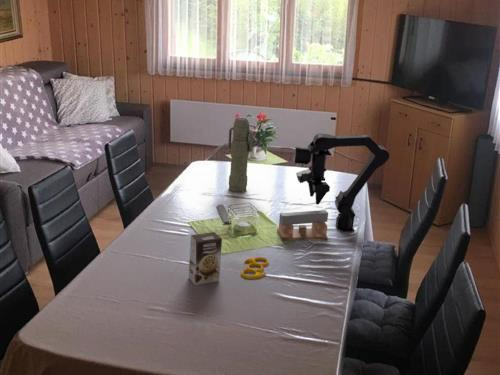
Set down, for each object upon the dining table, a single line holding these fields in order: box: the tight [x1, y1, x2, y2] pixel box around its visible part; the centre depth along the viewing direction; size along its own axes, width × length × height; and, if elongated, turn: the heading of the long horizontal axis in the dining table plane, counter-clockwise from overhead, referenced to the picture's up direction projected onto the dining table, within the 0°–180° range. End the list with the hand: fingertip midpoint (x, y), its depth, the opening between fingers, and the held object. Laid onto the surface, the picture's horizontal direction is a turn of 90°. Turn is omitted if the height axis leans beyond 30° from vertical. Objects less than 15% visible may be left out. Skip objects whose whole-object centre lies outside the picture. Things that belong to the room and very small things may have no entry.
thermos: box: [227, 117, 254, 194], centre depth 288 cm, size 9×12×35 cm
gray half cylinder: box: [215, 204, 231, 223], centre depth 262 cm, size 4×20×2 cm, turn 12°
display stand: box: [276, 222, 329, 242], centre depth 246 cm, size 19×9×6 cm, turn 100°
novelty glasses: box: [240, 256, 270, 280], centre depth 217 cm, size 17×2×10 cm
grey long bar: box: [278, 209, 329, 226], centre depth 245 cm, size 20×3×4 cm, turn 109°
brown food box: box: [188, 231, 223, 286], centre depth 205 cm, size 9×6×16 cm
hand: (314, 200), depth 253 cm, fingers open, 9 cm apart
